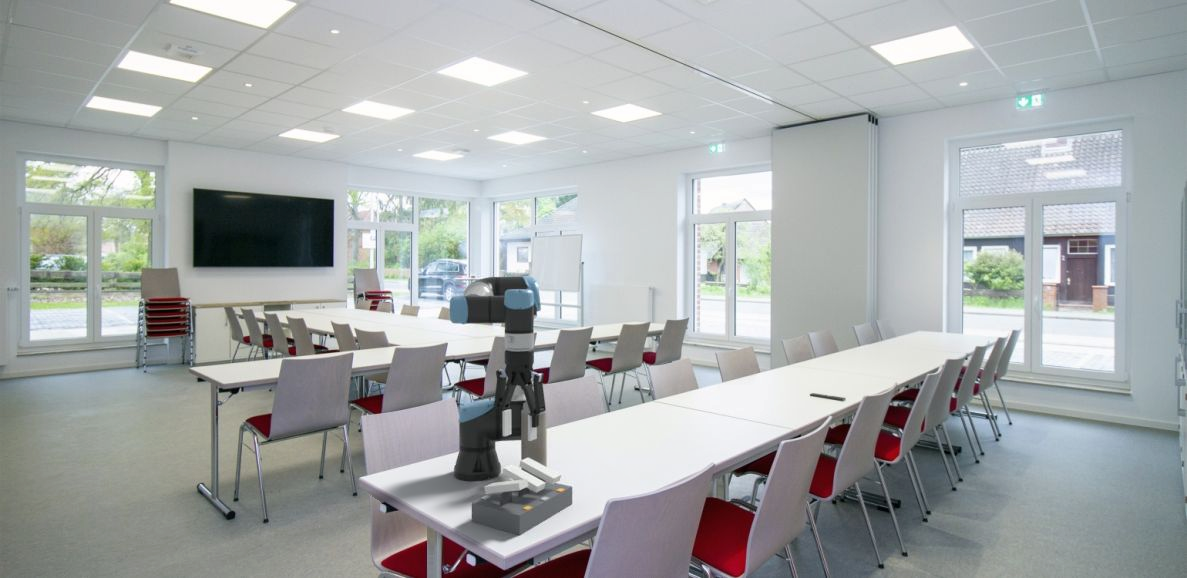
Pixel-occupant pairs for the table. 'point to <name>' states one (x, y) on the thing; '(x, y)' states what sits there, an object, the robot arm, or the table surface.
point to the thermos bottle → (537, 446)
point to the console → (521, 507)
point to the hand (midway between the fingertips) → (519, 437)
